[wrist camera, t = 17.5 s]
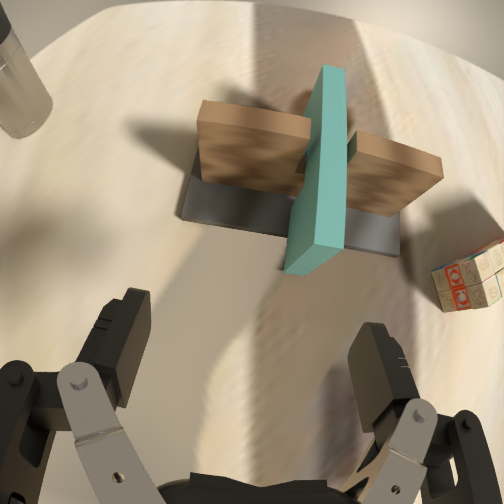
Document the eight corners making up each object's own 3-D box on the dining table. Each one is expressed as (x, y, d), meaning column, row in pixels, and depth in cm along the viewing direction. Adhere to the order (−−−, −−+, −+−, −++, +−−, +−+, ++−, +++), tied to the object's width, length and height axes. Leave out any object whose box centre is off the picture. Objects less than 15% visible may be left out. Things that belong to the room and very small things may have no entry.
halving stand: (182, 220, 37) (164, 164, 24) (203, 136, 40) (199, 64, 27) (395, 257, 38) (459, 226, 26) (394, 176, 41) (444, 126, 29)
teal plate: (304, 276, 35) (343, 248, 24) (283, 272, 35) (313, 243, 24) (316, 129, 40) (344, 69, 29) (299, 126, 40) (323, 63, 29)
